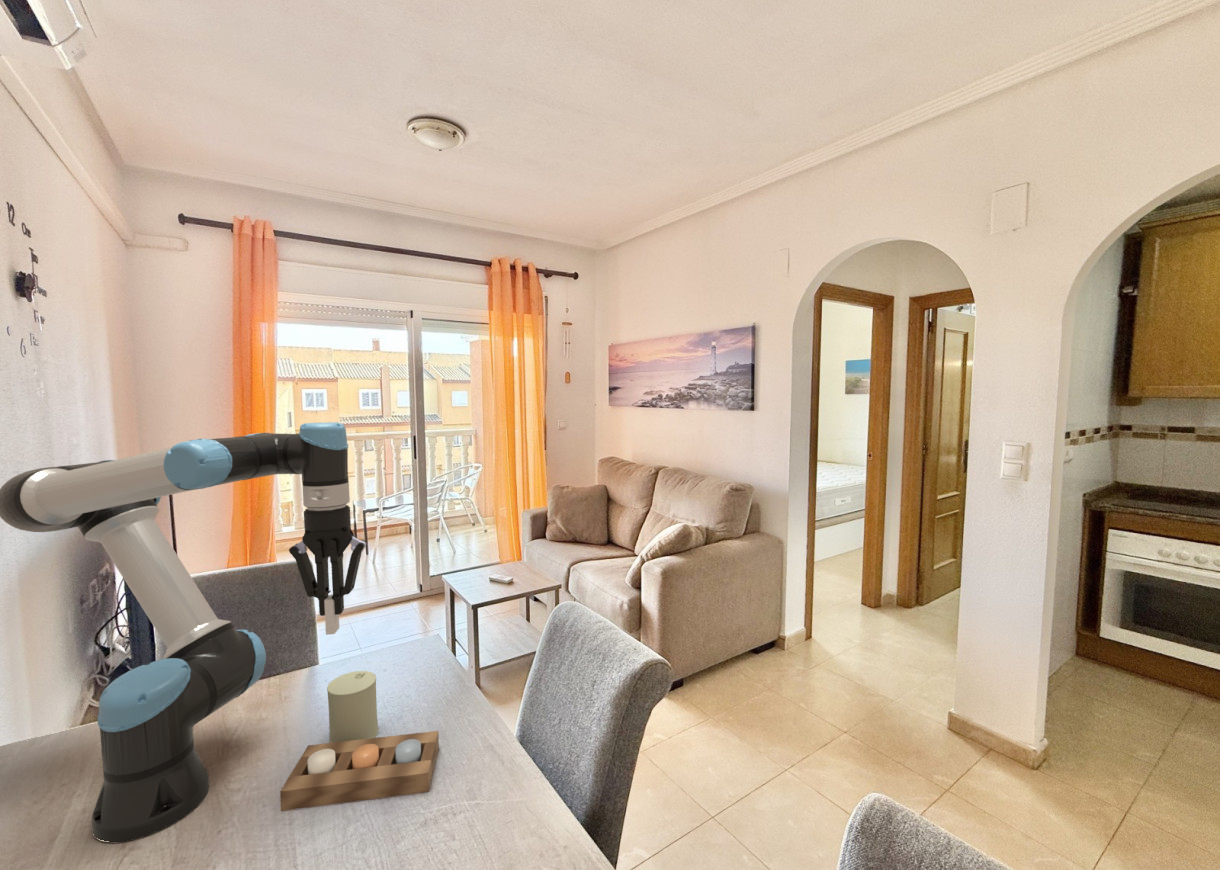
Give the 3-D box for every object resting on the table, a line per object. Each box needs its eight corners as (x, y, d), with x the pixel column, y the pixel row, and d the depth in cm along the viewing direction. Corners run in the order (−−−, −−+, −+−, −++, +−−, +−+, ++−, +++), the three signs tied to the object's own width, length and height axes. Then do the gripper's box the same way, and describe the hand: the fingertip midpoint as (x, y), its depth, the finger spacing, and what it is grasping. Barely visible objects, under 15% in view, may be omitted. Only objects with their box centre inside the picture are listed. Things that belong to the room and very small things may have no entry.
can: (387, 723, 113) (384, 669, 112) (362, 751, 104) (360, 693, 103) (346, 720, 114) (344, 667, 113) (319, 749, 105) (316, 691, 104)
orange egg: (349, 785, 94) (348, 761, 94) (357, 768, 99) (356, 745, 98) (375, 782, 95) (374, 758, 95) (382, 765, 99) (381, 742, 99)
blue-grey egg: (393, 780, 96) (393, 756, 95) (399, 763, 100) (398, 740, 100) (419, 777, 96) (418, 753, 96) (423, 760, 101) (422, 737, 100)
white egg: (304, 791, 93) (303, 766, 93) (314, 774, 97) (313, 750, 97) (331, 788, 94) (330, 763, 93) (339, 770, 98) (338, 747, 98)
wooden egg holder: (281, 810, 89) (280, 791, 89) (308, 762, 101) (307, 745, 100) (428, 791, 93) (428, 772, 93) (438, 747, 105) (438, 730, 105)
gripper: (279, 512, 92) (285, 643, 93) (358, 509, 94) (364, 637, 95) (297, 503, 99) (303, 625, 101) (370, 501, 101) (375, 620, 103)
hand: (332, 631), depth 98 cm, fingers closed
